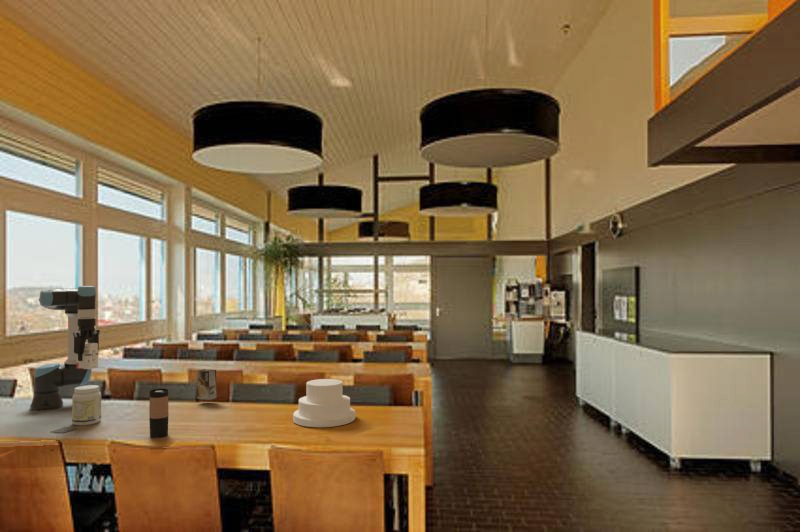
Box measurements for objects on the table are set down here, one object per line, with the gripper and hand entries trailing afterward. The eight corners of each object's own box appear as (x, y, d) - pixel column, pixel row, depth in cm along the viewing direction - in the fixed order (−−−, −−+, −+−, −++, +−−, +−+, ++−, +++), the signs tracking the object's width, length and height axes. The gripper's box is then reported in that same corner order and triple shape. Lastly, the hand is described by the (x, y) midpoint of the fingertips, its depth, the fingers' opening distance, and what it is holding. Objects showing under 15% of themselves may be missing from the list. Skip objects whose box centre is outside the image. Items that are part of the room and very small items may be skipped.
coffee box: (217, 397, 312) (217, 369, 312) (209, 400, 306) (209, 371, 306) (204, 396, 316) (204, 368, 316) (196, 398, 310) (196, 370, 310)
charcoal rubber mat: (65, 427, 252) (65, 426, 252) (77, 428, 250) (77, 427, 251) (50, 432, 245) (50, 431, 245) (62, 433, 243) (62, 432, 243)
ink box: (75, 368, 260) (75, 343, 260) (84, 366, 265) (84, 342, 265) (90, 369, 258) (90, 344, 258) (98, 367, 263) (98, 343, 263)
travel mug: (153, 433, 242) (153, 388, 242) (170, 433, 242) (170, 388, 243) (146, 439, 234) (146, 392, 234) (165, 438, 235) (165, 392, 235)
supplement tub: (84, 418, 268) (84, 384, 268) (107, 419, 266) (107, 384, 267) (65, 425, 256) (65, 389, 256) (89, 426, 254) (89, 390, 255)
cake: (324, 431, 245) (324, 391, 246) (280, 420, 263) (280, 383, 264) (367, 416, 269) (367, 380, 270) (324, 408, 287) (324, 374, 288)
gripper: (95, 316, 272) (95, 363, 271) (64, 319, 254) (64, 369, 254) (107, 316, 270) (107, 363, 269) (77, 319, 252) (77, 370, 252)
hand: (86, 366), depth 262 cm, fingers closed on ink box, 5 cm apart
